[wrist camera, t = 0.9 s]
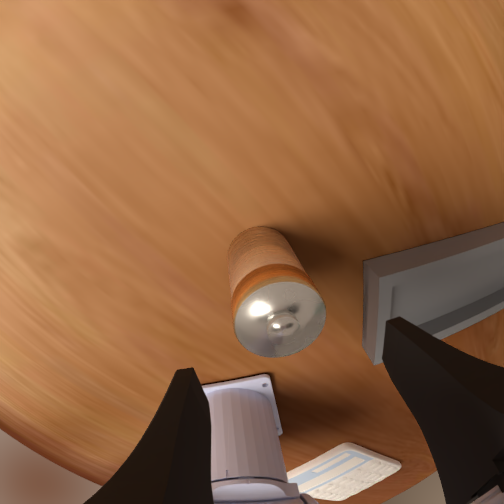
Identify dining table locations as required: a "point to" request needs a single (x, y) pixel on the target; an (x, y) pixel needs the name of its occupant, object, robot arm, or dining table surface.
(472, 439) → the robot arm
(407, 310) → the trough
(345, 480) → the calculator
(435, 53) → the dining table surface
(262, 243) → the cell
